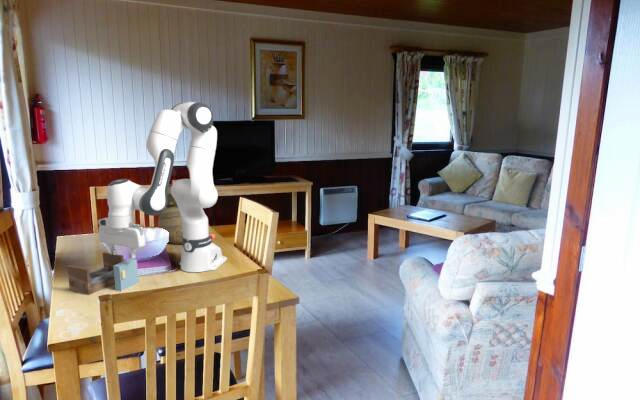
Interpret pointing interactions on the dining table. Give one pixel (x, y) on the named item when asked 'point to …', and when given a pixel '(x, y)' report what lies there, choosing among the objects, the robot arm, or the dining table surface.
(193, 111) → the robot arm
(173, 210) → the ceramic vessel
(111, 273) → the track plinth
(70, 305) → the dining table surface
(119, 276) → the door panel
